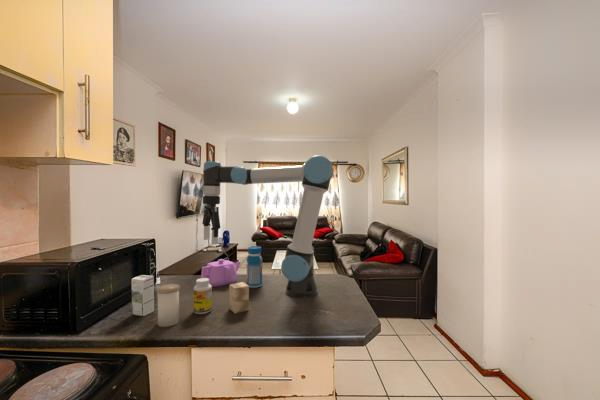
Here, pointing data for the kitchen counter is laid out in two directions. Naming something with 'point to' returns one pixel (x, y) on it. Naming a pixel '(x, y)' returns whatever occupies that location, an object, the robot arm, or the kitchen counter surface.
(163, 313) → the cream jar
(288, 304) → the kitchen counter surface
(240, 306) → the beech block
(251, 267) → the beverage bottle
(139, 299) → the syrup box
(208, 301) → the supplement bottle
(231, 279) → the teakettle
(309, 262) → the robot arm
